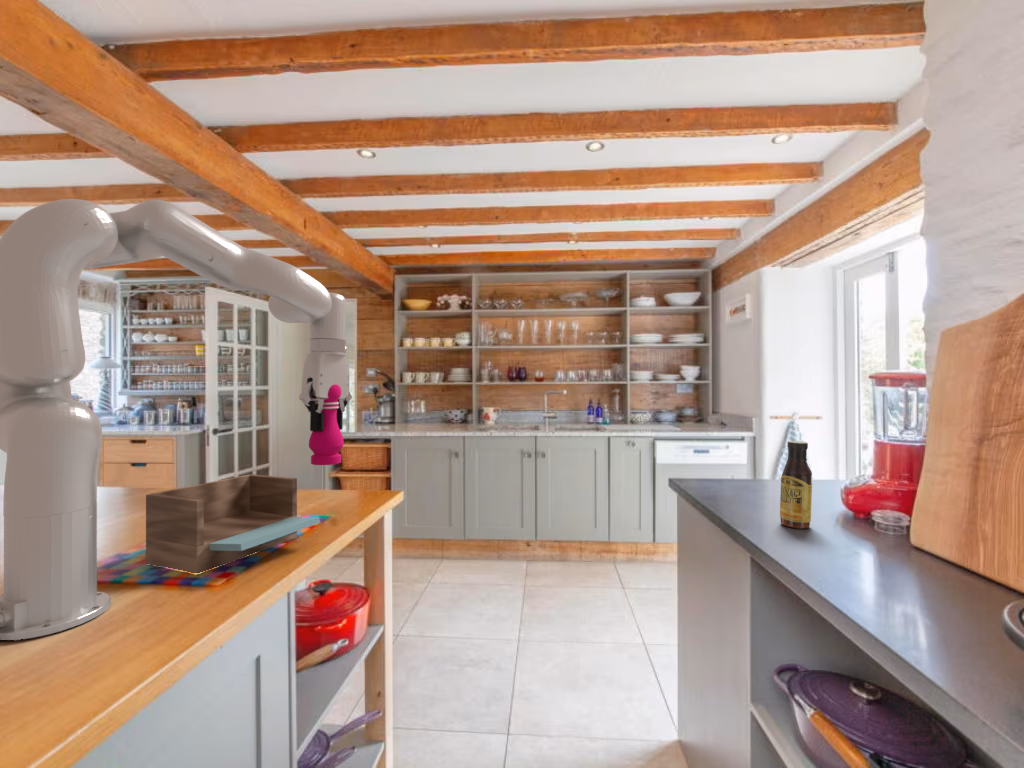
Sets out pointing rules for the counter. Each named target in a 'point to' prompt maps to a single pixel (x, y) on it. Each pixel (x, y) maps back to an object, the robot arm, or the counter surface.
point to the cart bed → (214, 519)
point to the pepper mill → (328, 432)
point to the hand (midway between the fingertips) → (326, 429)
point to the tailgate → (264, 534)
